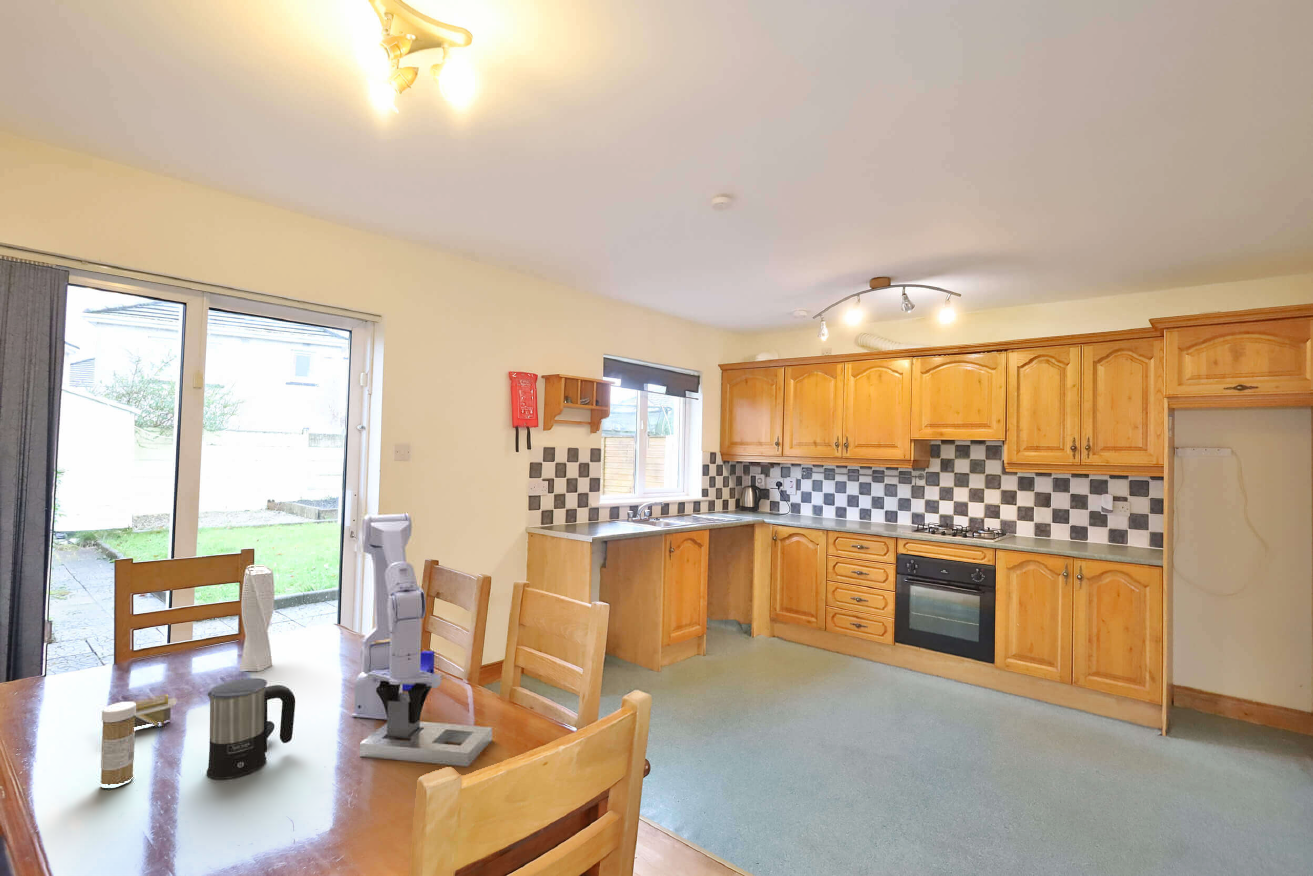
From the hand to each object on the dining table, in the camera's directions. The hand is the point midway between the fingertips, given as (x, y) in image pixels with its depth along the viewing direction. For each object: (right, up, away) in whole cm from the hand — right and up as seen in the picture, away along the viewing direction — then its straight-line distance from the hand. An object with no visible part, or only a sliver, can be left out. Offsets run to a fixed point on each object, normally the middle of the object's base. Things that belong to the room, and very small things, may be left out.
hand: (403, 720), depth 125 cm
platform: (-55, -5, +5) cm, 56 cm away
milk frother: (-28, -5, -6) cm, 29 cm away
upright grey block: (0, -2, 0) cm, 2 cm away
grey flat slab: (+5, -5, -1) cm, 7 cm away
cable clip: (-11, -6, +34) cm, 37 cm away
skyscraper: (-56, -5, +42) cm, 70 cm away
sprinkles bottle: (-44, -4, -16) cm, 47 cm away
